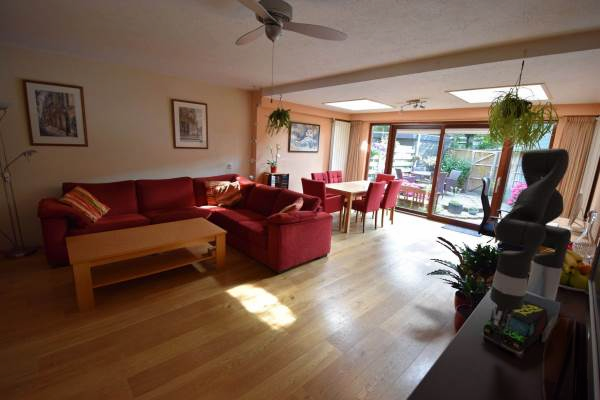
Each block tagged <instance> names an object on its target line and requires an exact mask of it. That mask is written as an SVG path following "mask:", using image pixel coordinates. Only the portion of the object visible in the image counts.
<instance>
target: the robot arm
mask: <svg viewBox="0 0 600 400" xmlns="http://www.w3.org/2000/svg"><path fill="white" fill-rule="evenodd" d="M569 155H570V154H569V152H568V150H566V149H564V148H535V149H529V150H526V151H525V152H524V153H523V154H522V157H521V172H522V175H523V178H524V181H525V183H526V188H524V189H523V190H522V191H521V192H520V193H519V194H518V196H517V198H516V200H515V203H514V204H513V207H512V208H511V210H509V212H508V213H507V214H506V215H505V216H503V217H502V219H500V220H499V221H498V223H497V224H496V226H495V230H494V234H495V236H496V238H497V239H498V240H499V241H500V242H502V243H505V244H510V245H514V246H518V247H523V248H524V249H523V250H520V251H514V250H503V251H501V252H500V253H499V255H498V258H497V264H496V265H497V266H496V269H495V273H494V275H493V279H492V286H491V291H490V298H489V299H490V300H491V301H492V302H493V303H495V305H497V308H496V307H495V306H494V307H495V308H494V307H493V308H494V312H493V313H494V318H493V317H492V318H491V317H490V319H491V325H492V330H495V331H494V336H493V340H494V341H495V342H497V343H499V344H502V342H503V340H504V335H505V331H507V327H509V324H510V323H511V319H512V316H513V315H514V311H515V310H518V309H521V308H522V307H523V302H524V297H525V293H526V291H527V292H530V293H533V294H536V295H539V296H542V297H545V298H548V299H550V300H553V301H556V298H557V293H558V288H559V286H560V285H559V284H560V279H561V275H562V272H563V268H564V265H565V264H564V263H565V259H566V254H567V252H568V248H569V246H570V242H571V239H572V232H571V230H570V229H568V228H565V227H560V226H555V225H549V223H551V222H553V221H555V220H556V219H558V218H560V216H561V215H562V214H563V213H564V198H563V195H562V194H561V192H560V191H559V190H558V189H557V188H558V186H559V185H560V183H561V182H562V180H563V178H564V177H565V175H566V173H567V171H568V167H569V162H570V156H569ZM540 247H541V248H546V249H552V250H554V251H553V252H550V253H537V252H538V250H539V249H540ZM528 276H529V277H528Z"/></svg>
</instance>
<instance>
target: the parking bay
mask: <svg viewBox="0 0 600 400" xmlns="http://www.w3.org/2000/svg"><path fill="white" fill-rule="evenodd" d="M524 300H525V301H528V302H530V303H533V304H535V305H538V306H540V307H542V308H545V309H546V310H547V325H546V328H545V329H544V331H543V332H542V337H541V340H540V341H541V342H542V343H545V342H546V341H547V339H548V337H549V336H550V334H551V332H552V331H551V329H552V327H553V326H554V327H555V325H556V324H557V320H558V316H559V312H560V309H561V304H562V303H561V302H559V301H556V300H555V301H553V300H550V299H548V298H545V297H542V296H539V295H536V294H533V293H530V292H527V291H526V293H525V297H524ZM495 307H496V308H497V304H495V306H494V307H493V308H492V310H491V314H490V319H491V318H492V316H493V315H494V313H493V312H494V308H495ZM555 323H556V324H555ZM554 324H555V325H554ZM554 327H553V328H554ZM552 330H553V329H552ZM550 331H551V332H550ZM549 333H550V334H549ZM548 335H549V336H548Z"/></svg>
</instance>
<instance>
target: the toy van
mask: <svg viewBox="0 0 600 400" xmlns="http://www.w3.org/2000/svg"><path fill="white" fill-rule="evenodd" d="M492 317H493V318H494V315H493V316H492ZM547 324H548V321H547V310H546V309H545V308H542V307H540V306H538V305H535V304H533V303H530V302H528V301H525V300H524V302H523V307H522V308H521V309H518V310H515V311H514V315H513V316H512V319H511V323H510V324H509V327H507V331H505V335H504V340H503V342H502V344H499V343H497V342H495V341H494V340H493V336H494V331H495V330H492V325H491V318H490V319H489V320H488V321H487V322H486V323H485V324H484V326H483V331H482V332H481V336H482V338H483V339H484V341H491V342H492V343H493V344H496V345H497V346H499V347H501V348H502V349H505V350H506V351H509V352H511V353H514V355H515V357H516V358H518V359H522V358H523V357H524V353H525V350H526V349H527V348H529V347H530V346H531V345H532V344H533V343H534V342H536V340H537V341H539V340H540V338H541V335H542V334H543V331H544V329H545V328H546V326H547Z"/></svg>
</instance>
